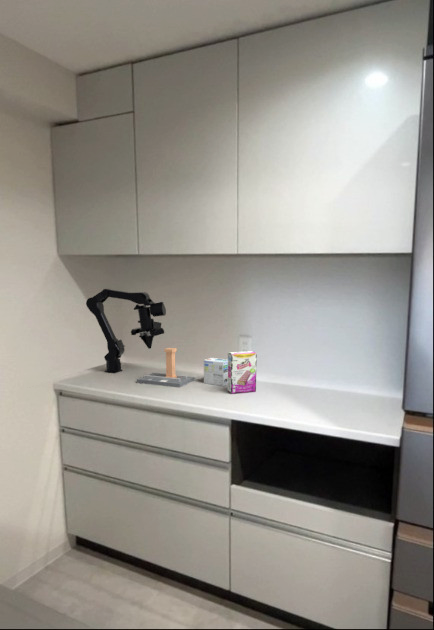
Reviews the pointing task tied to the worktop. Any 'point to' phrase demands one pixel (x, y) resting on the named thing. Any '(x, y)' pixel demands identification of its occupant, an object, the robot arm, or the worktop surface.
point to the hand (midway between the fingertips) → (149, 348)
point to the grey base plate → (165, 380)
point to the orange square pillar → (170, 362)
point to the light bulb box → (216, 371)
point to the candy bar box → (242, 372)
